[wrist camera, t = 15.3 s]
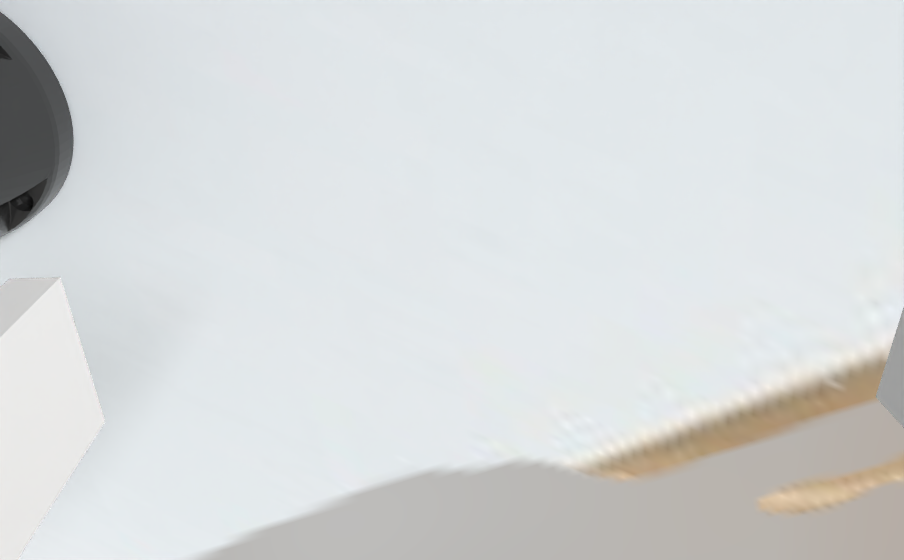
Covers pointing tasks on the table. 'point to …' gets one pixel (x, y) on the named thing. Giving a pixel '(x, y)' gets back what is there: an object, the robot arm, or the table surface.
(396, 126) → the table surface
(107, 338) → the table surface
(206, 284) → the table surface
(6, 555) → the robot arm
